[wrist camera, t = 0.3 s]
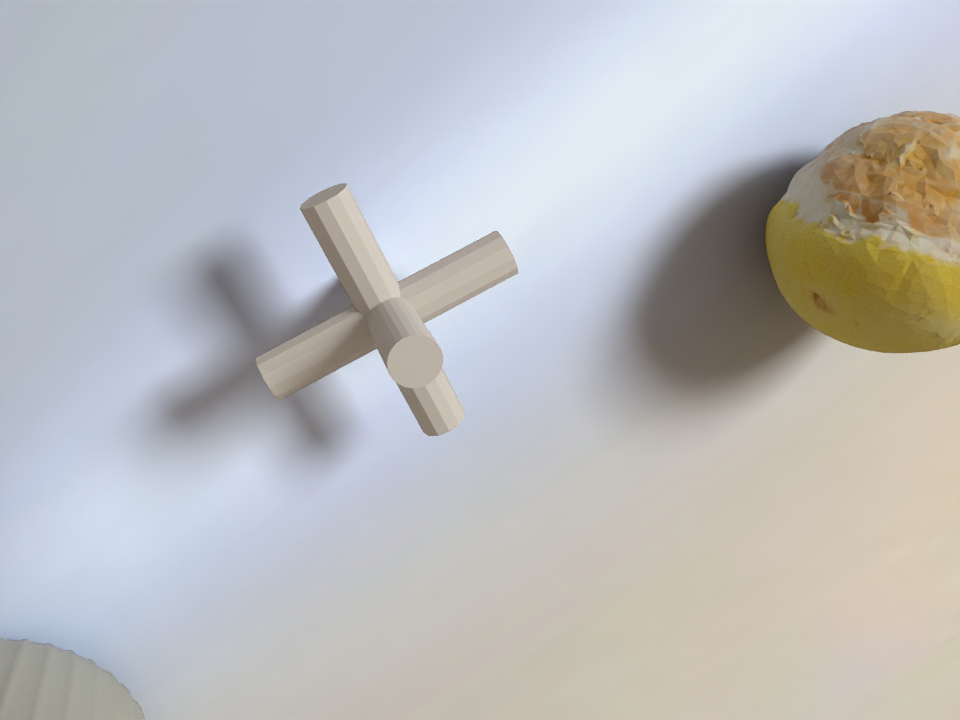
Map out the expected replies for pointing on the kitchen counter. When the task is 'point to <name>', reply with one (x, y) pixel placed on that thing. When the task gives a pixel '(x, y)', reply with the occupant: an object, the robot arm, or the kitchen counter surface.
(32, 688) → the canister
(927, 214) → the fruit
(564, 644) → the kitchen counter surface
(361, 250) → the pipe connector
